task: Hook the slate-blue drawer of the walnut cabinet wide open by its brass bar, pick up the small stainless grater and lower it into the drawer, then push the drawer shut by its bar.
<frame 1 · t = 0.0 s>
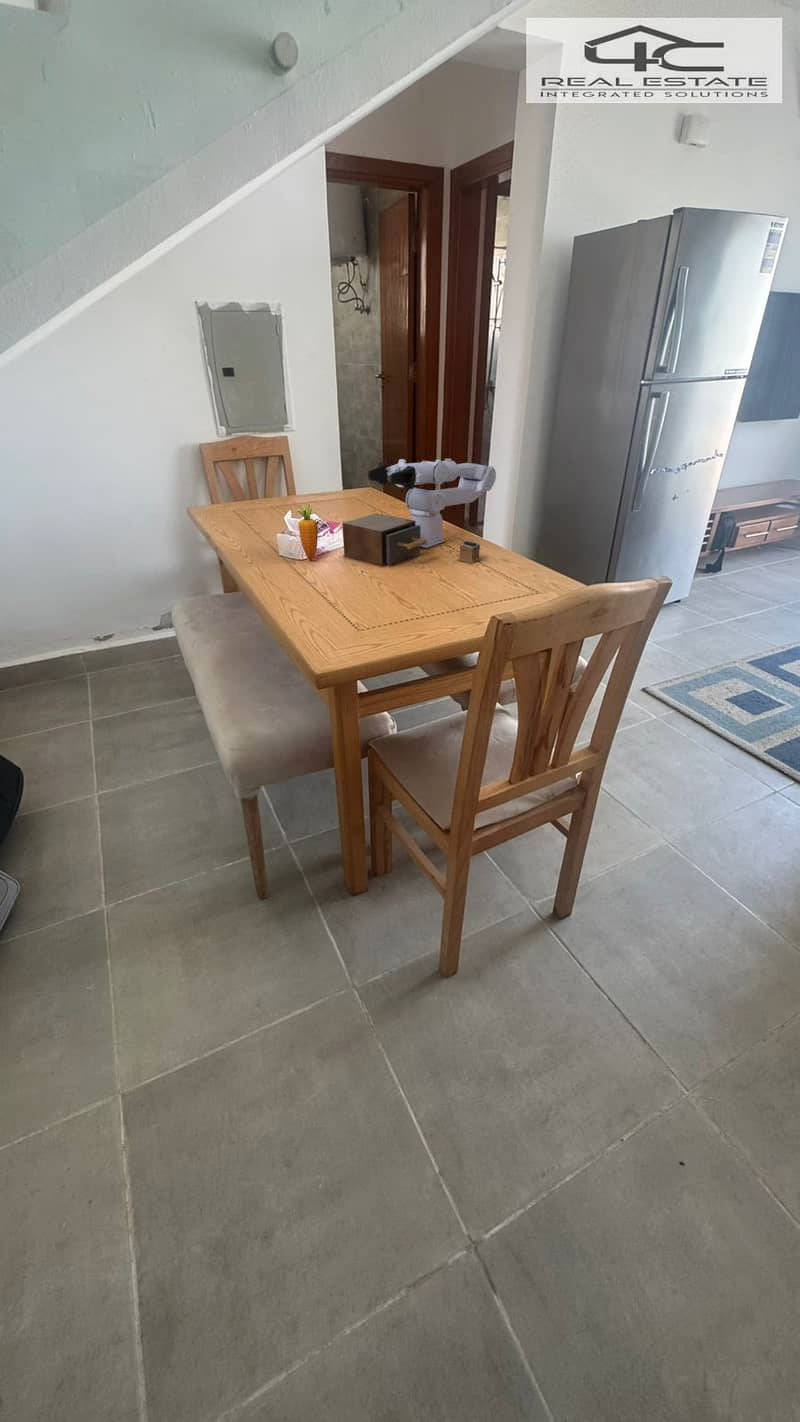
hand: (380, 477, 158), 22 cm above the table, tool horizontal, fingers open, 7 cm apart
grater: (469, 560, 168), on the table
carrot: (311, 561, 168), on the table
cabinet: (380, 555, 172), on the table
drawer: (393, 541, 167), point 5 cm above the table, slide at 1.0 cm
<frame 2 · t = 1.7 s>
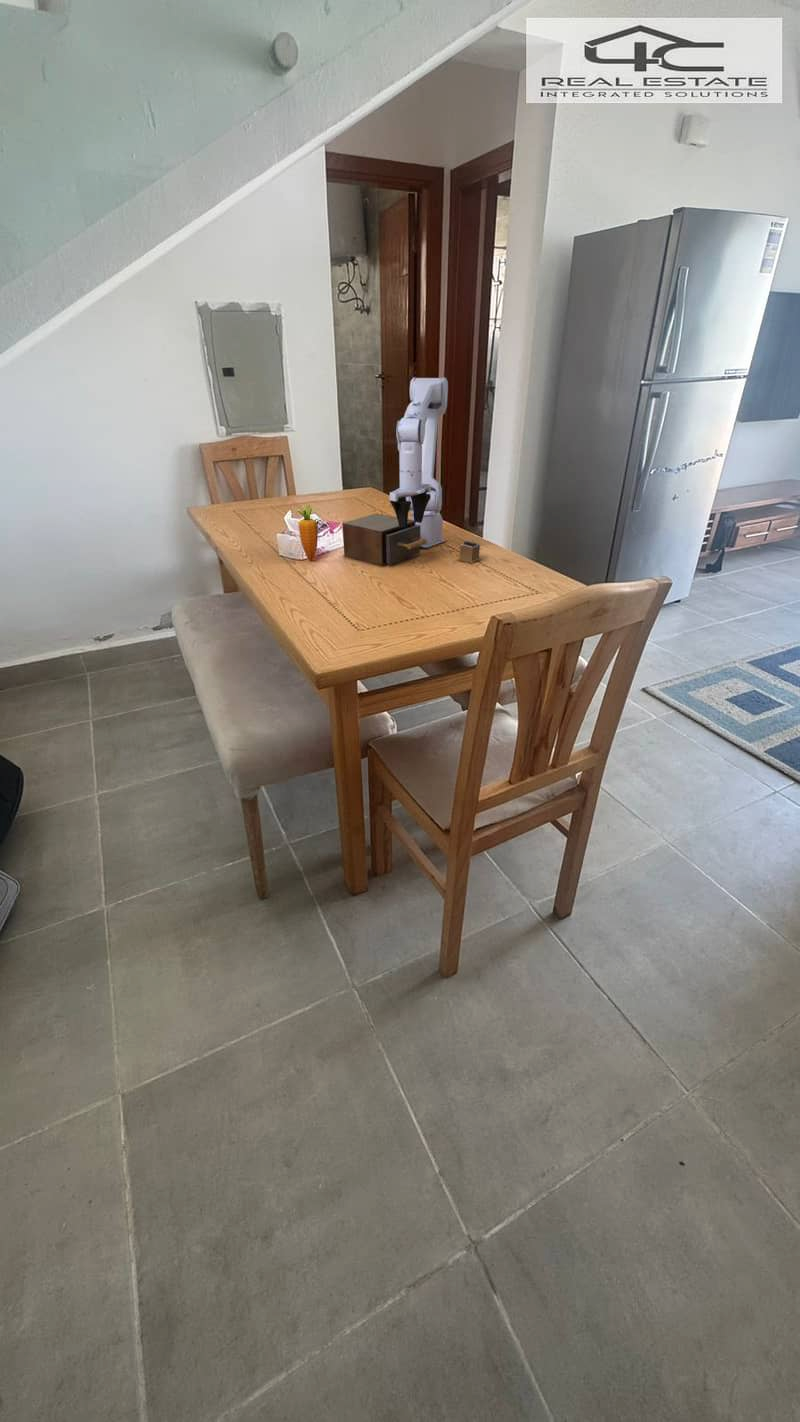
hand: (410, 524, 161), 10 cm above the table, tool pointing down, fingers open, 6 cm apart
nothing on the table moved.
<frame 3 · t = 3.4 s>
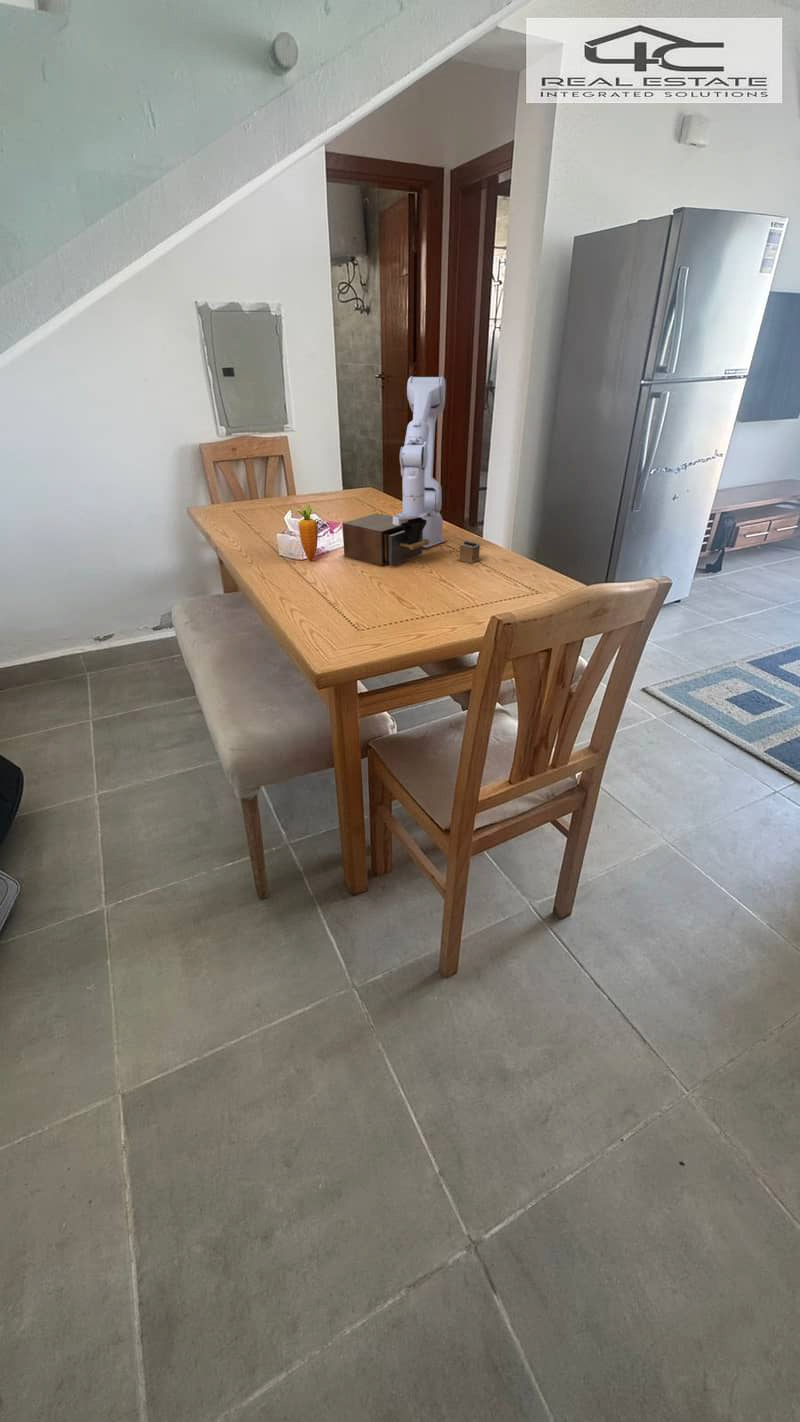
hand: (413, 547, 163), 5 cm above the table, tool pointing down, fingers closed, pressing on drawer
drawer: (395, 542, 167), point 5 cm above the table, slide at 1.8 cm, touching gripper
everything else where it was.
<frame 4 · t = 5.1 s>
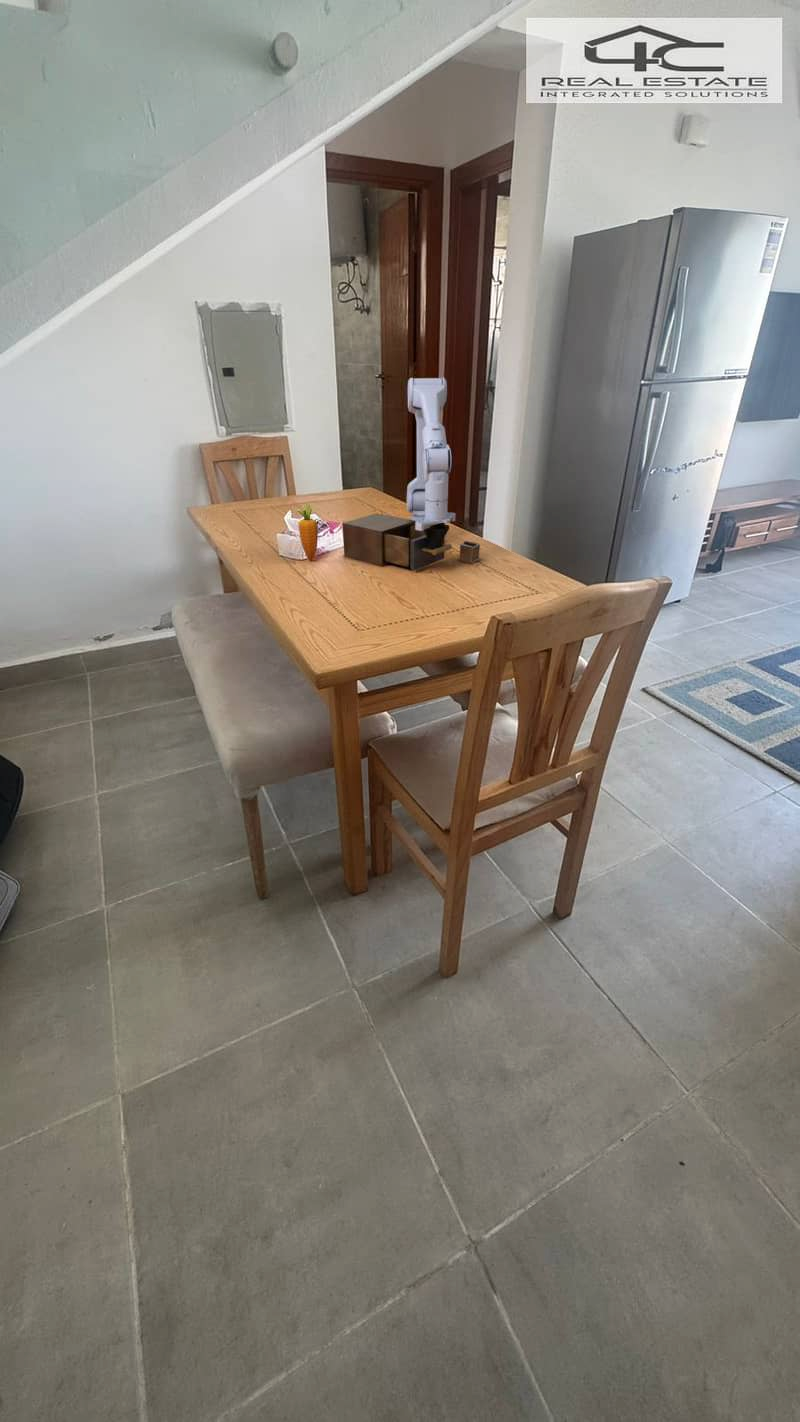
hand: (435, 553, 159), 4 cm above the table, tool pointing down, fingers closed, pressing on drawer
drawer: (416, 547, 163), point 5 cm above the table, slide at 9.3 cm, touching gripper
everything else where it was.
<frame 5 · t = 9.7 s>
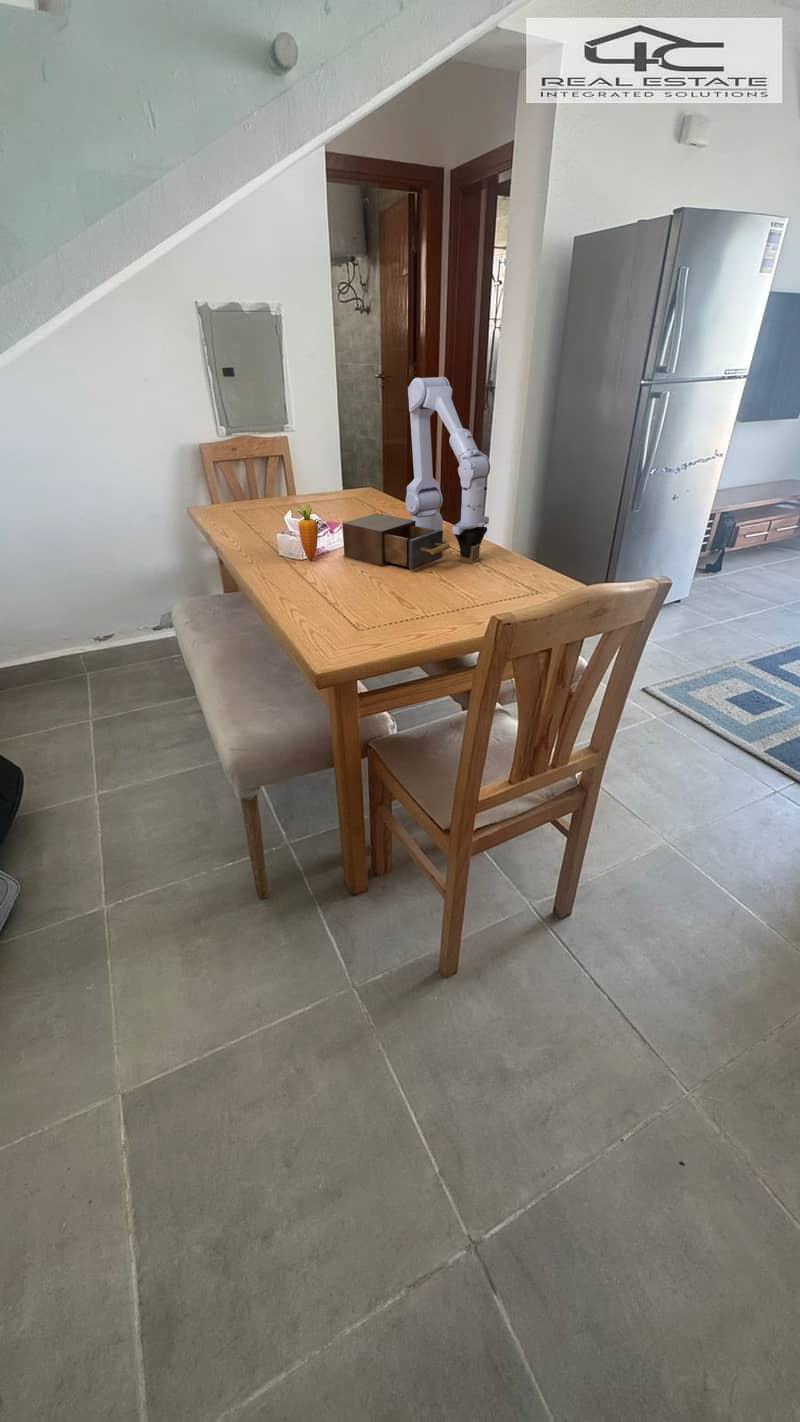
hand: (469, 555, 167), 1 cm above the table, tool pointing down, fingers closed on grater, 4 cm apart
grater: (469, 560, 168), on the table, touching gripper
drawer: (415, 546, 163), point 5 cm above the table, slide at 8.8 cm
everything else where it was.
when the fingers open (4 cm above the table, at t = 15.4 s): grater drops 1 cm, resting on drawer.
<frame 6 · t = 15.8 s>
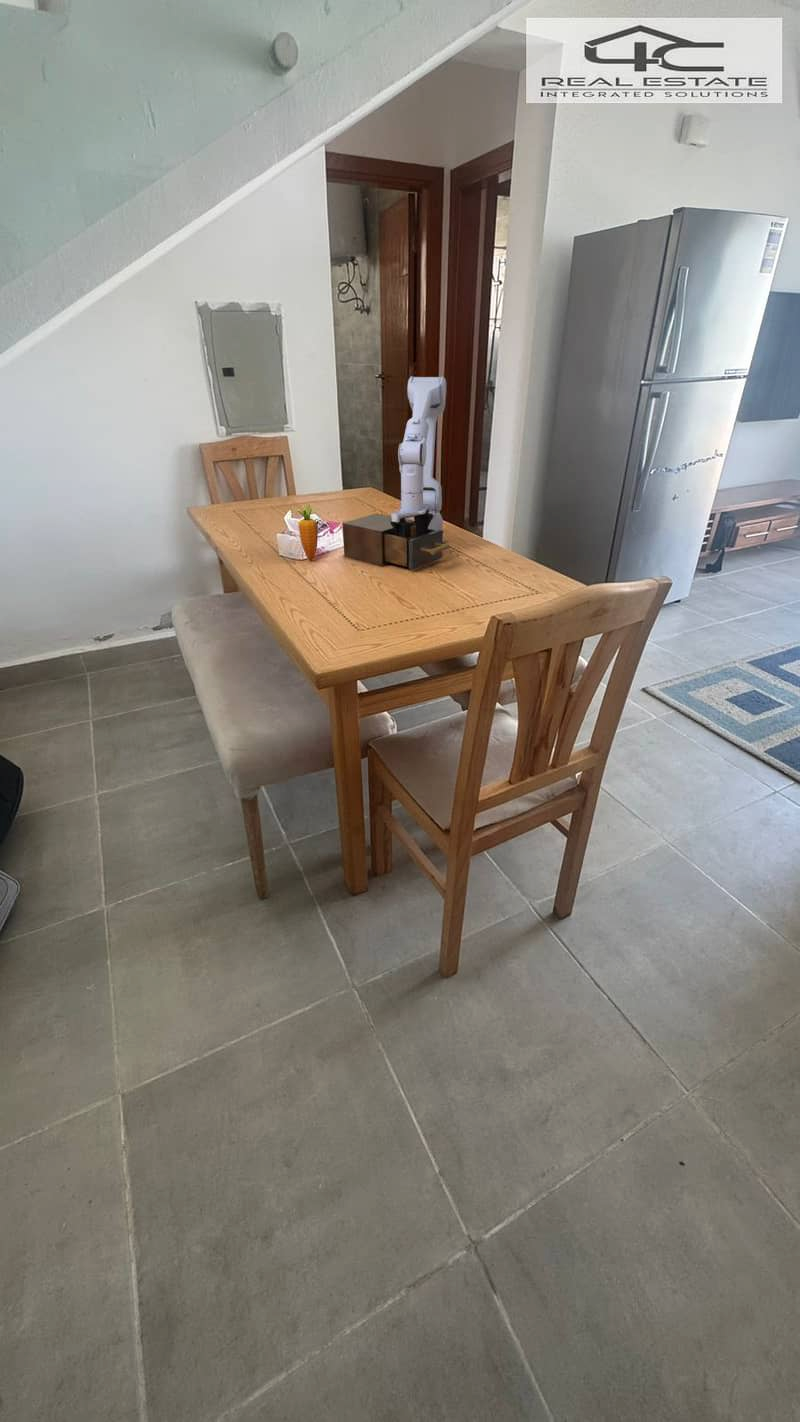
hand: (412, 544, 163), 5 cm above the table, tool pointing down, fingers open, 7 cm apart
grater: (412, 556, 165), point 2 cm above the table, touching drawer
drawer: (415, 546, 163), point 5 cm above the table, slide at 8.8 cm, touching grater
everything else where it was.
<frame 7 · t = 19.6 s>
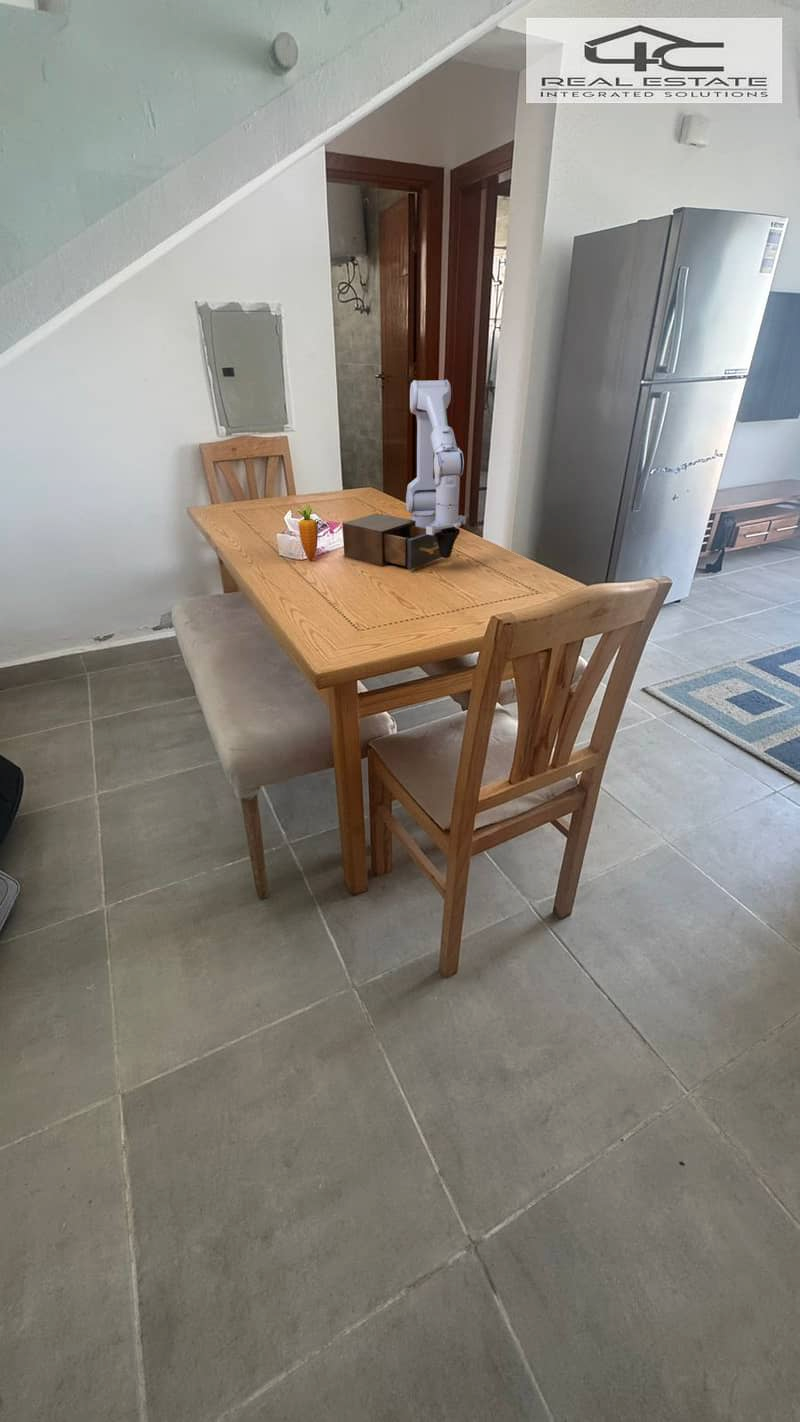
hand: (445, 557, 158), 4 cm above the table, tool pointing down, fingers closed, pressing on drawer
drawer: (413, 546, 163), point 5 cm above the table, slide at 8.3 cm, touching grater, gripper
everything else where it was.
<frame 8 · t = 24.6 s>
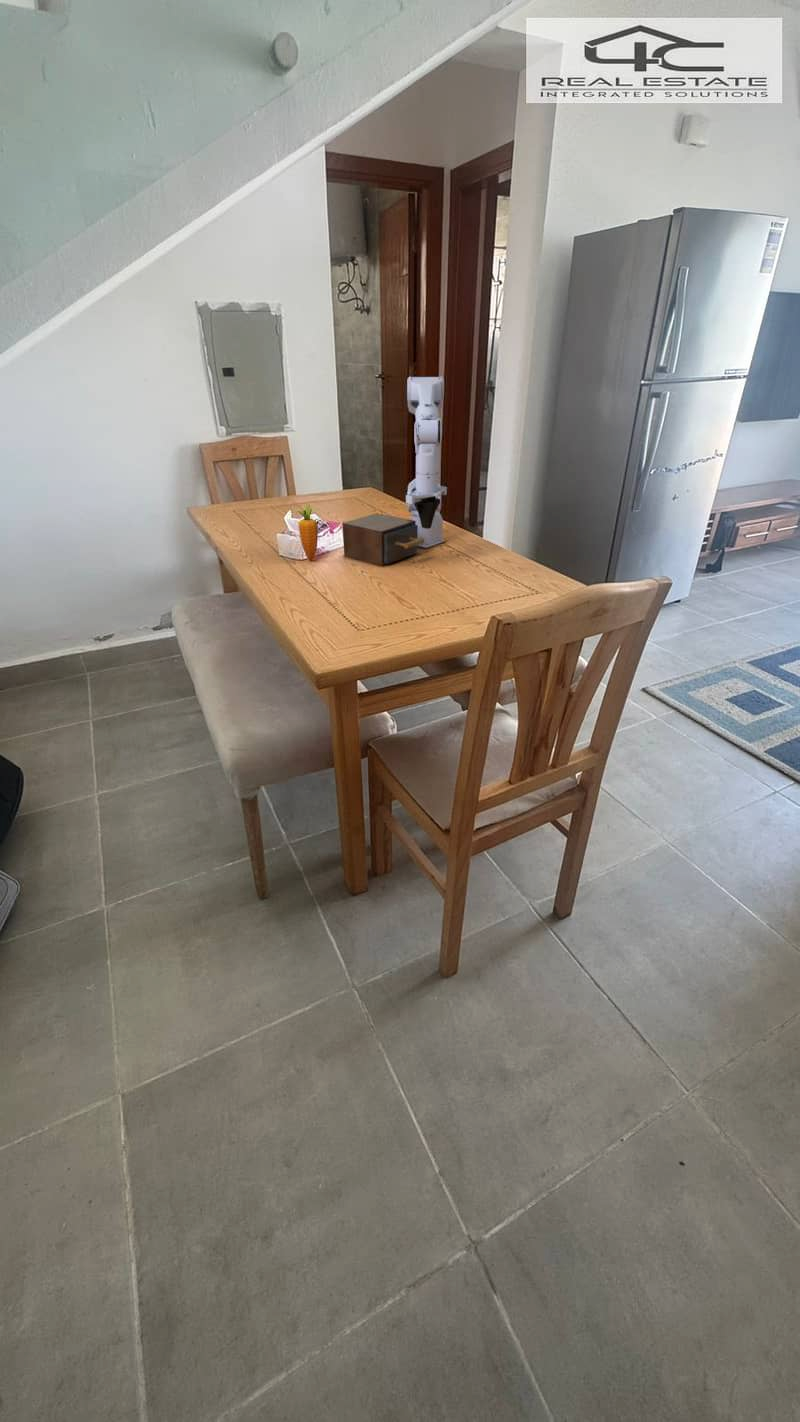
hand: (426, 527, 158), 10 cm above the table, tool pointing down, fingers closed
grater: (387, 550, 170), point 2 cm above the table, touching drawer
drawer: (390, 541, 168), point 5 cm above the table, slide at 0.0 cm, touching cabinet, grater
everything else where it was.
at the end: drawer pulled out 9.3 cm at the most during the clip, back to where it started at the end; grater inside the target area in the cabinet (3.0 cm from its centre), point 1.9 cm above the cabinet's base; drawer slide at 0.0 cm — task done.
